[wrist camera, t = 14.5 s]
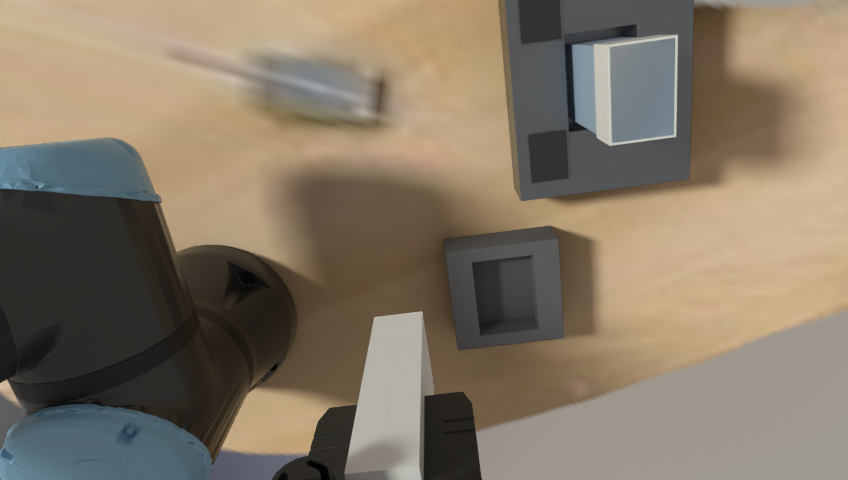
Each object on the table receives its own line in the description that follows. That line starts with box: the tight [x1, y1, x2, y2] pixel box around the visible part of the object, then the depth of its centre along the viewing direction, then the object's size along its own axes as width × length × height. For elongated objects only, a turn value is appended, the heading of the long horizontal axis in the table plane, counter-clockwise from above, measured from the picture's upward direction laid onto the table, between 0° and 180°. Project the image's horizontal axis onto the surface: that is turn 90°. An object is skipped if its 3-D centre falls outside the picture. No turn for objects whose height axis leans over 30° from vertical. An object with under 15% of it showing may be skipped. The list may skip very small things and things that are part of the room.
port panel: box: [498, 0, 694, 201], centre depth 45 cm, size 14×18×5 cm
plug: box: [565, 35, 678, 146], centre depth 41 cm, size 4×6×12 cm
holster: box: [444, 226, 564, 350], centre depth 53 cm, size 10×10×4 cm
